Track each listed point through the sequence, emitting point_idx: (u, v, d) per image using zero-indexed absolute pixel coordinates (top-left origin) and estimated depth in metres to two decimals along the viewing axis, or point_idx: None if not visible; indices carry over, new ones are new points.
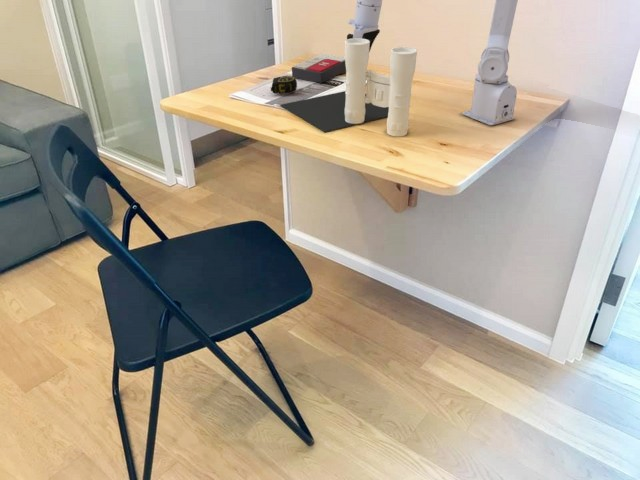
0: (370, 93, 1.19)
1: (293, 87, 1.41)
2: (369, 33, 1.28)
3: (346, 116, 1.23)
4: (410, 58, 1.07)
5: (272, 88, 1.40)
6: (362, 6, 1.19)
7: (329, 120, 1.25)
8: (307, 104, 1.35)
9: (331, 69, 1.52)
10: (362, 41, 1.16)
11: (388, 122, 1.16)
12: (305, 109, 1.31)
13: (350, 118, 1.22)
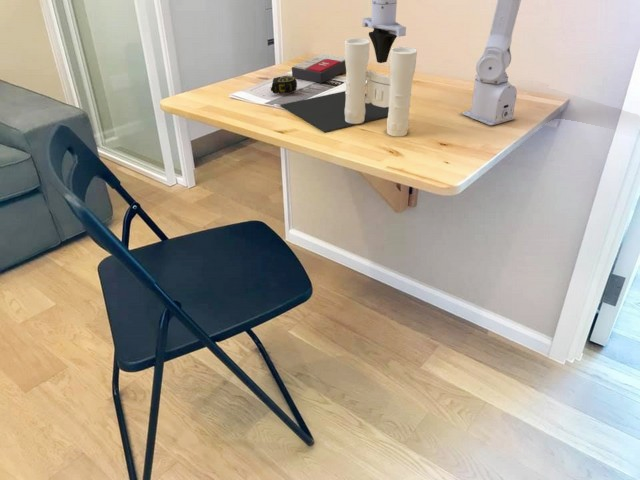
0: (370, 93, 1.19)
1: (293, 87, 1.41)
2: None
3: (346, 116, 1.23)
4: (410, 58, 1.07)
5: (272, 88, 1.40)
6: (388, 5, 1.20)
7: (329, 120, 1.25)
8: (307, 104, 1.35)
9: (331, 69, 1.52)
10: (362, 41, 1.16)
11: (388, 122, 1.16)
12: (305, 109, 1.31)
13: (350, 118, 1.22)
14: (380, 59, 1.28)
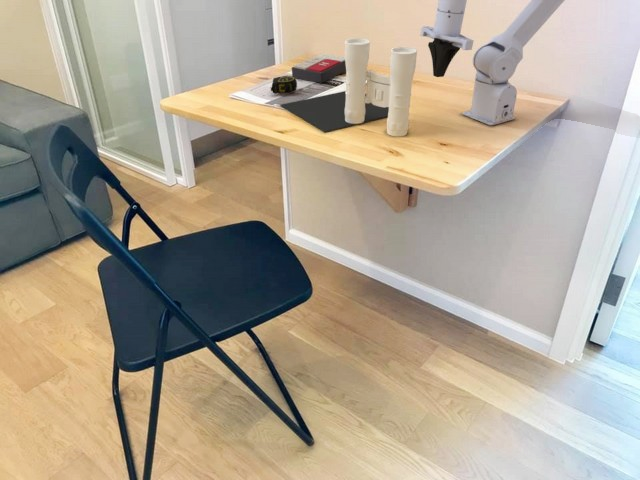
0: (370, 93, 1.19)
1: (293, 87, 1.41)
2: None
3: (346, 116, 1.23)
4: (410, 58, 1.07)
5: (272, 88, 1.40)
6: (455, 15, 1.09)
7: (329, 120, 1.25)
8: (307, 104, 1.35)
9: (331, 69, 1.52)
10: (362, 41, 1.16)
11: (388, 122, 1.16)
12: (305, 109, 1.31)
13: (350, 118, 1.22)
14: (438, 73, 1.17)
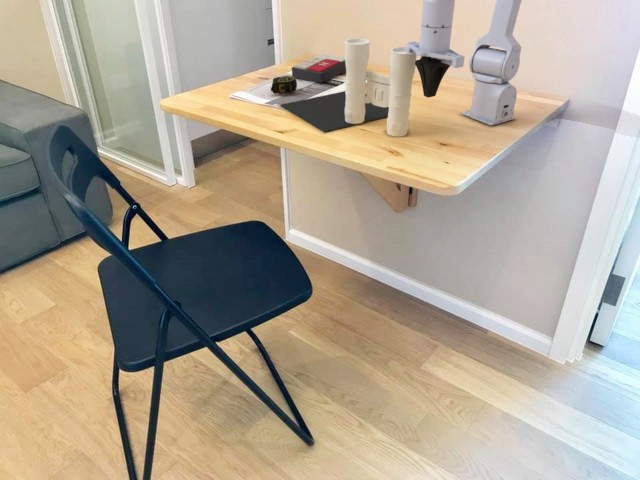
0: (370, 93, 1.19)
1: (293, 87, 1.41)
2: None
3: (346, 116, 1.23)
4: (410, 58, 1.07)
5: (272, 88, 1.40)
6: (442, 30, 0.97)
7: (329, 120, 1.25)
8: (307, 104, 1.35)
9: (331, 69, 1.52)
10: (362, 41, 1.16)
11: (388, 122, 1.16)
12: (305, 109, 1.31)
13: (350, 118, 1.22)
14: (428, 93, 1.05)
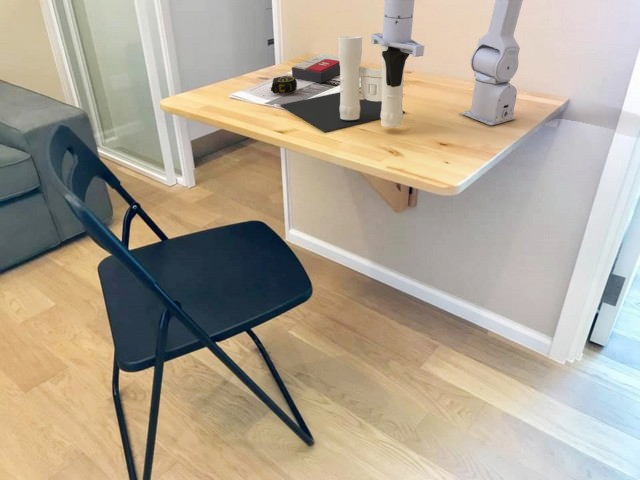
0: (364, 89, 1.21)
1: (293, 87, 1.41)
2: (400, 55, 1.07)
3: (341, 113, 1.23)
4: None
5: (272, 88, 1.40)
6: (403, 20, 1.01)
7: (329, 120, 1.25)
8: (307, 104, 1.35)
9: (331, 69, 1.52)
10: None
11: (382, 113, 1.16)
12: (305, 109, 1.31)
13: (345, 114, 1.23)
14: (389, 81, 1.10)
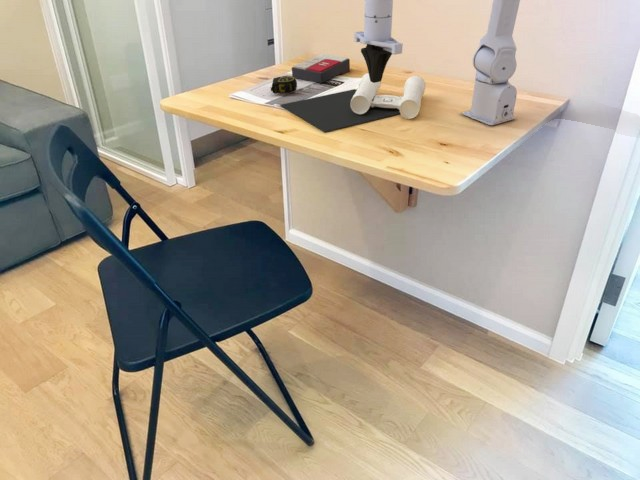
0: (377, 101, 1.31)
1: (293, 87, 1.41)
2: None
3: (357, 94, 1.25)
4: (424, 83, 1.36)
5: (272, 88, 1.40)
6: (382, 19, 1.06)
7: (329, 120, 1.25)
8: (307, 104, 1.35)
9: (331, 69, 1.52)
10: None
11: (405, 96, 1.24)
12: (305, 109, 1.31)
13: (362, 94, 1.25)
14: (374, 78, 1.14)
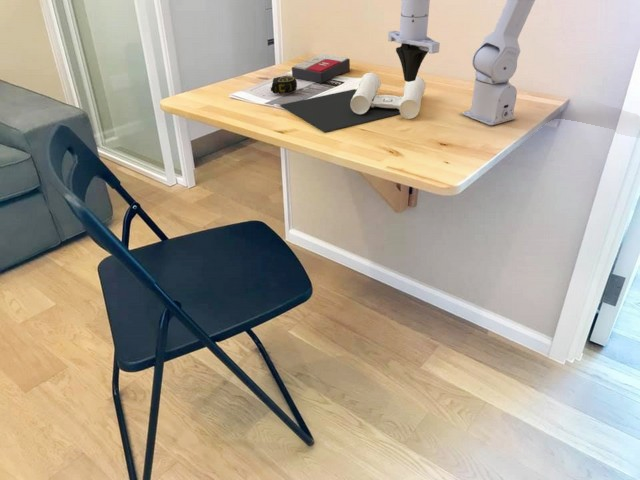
0: (377, 101, 1.31)
1: (293, 87, 1.41)
2: None
3: (357, 94, 1.25)
4: (424, 83, 1.36)
5: (272, 88, 1.40)
6: (419, 19, 1.07)
7: (329, 120, 1.25)
8: (307, 104, 1.35)
9: (331, 69, 1.52)
10: None
11: (405, 96, 1.24)
12: (305, 109, 1.31)
13: (362, 94, 1.25)
14: (408, 77, 1.15)
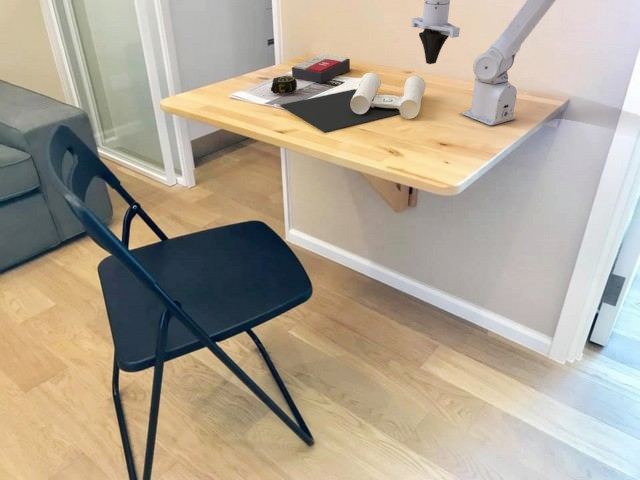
0: (377, 101, 1.31)
1: (293, 87, 1.41)
2: None
3: (357, 94, 1.25)
4: (424, 83, 1.36)
5: (272, 88, 1.40)
6: (441, 6, 1.18)
7: (329, 120, 1.25)
8: (307, 104, 1.35)
9: (331, 69, 1.52)
10: None
11: (405, 96, 1.24)
12: (305, 109, 1.31)
13: (362, 94, 1.25)
14: (430, 60, 1.26)
